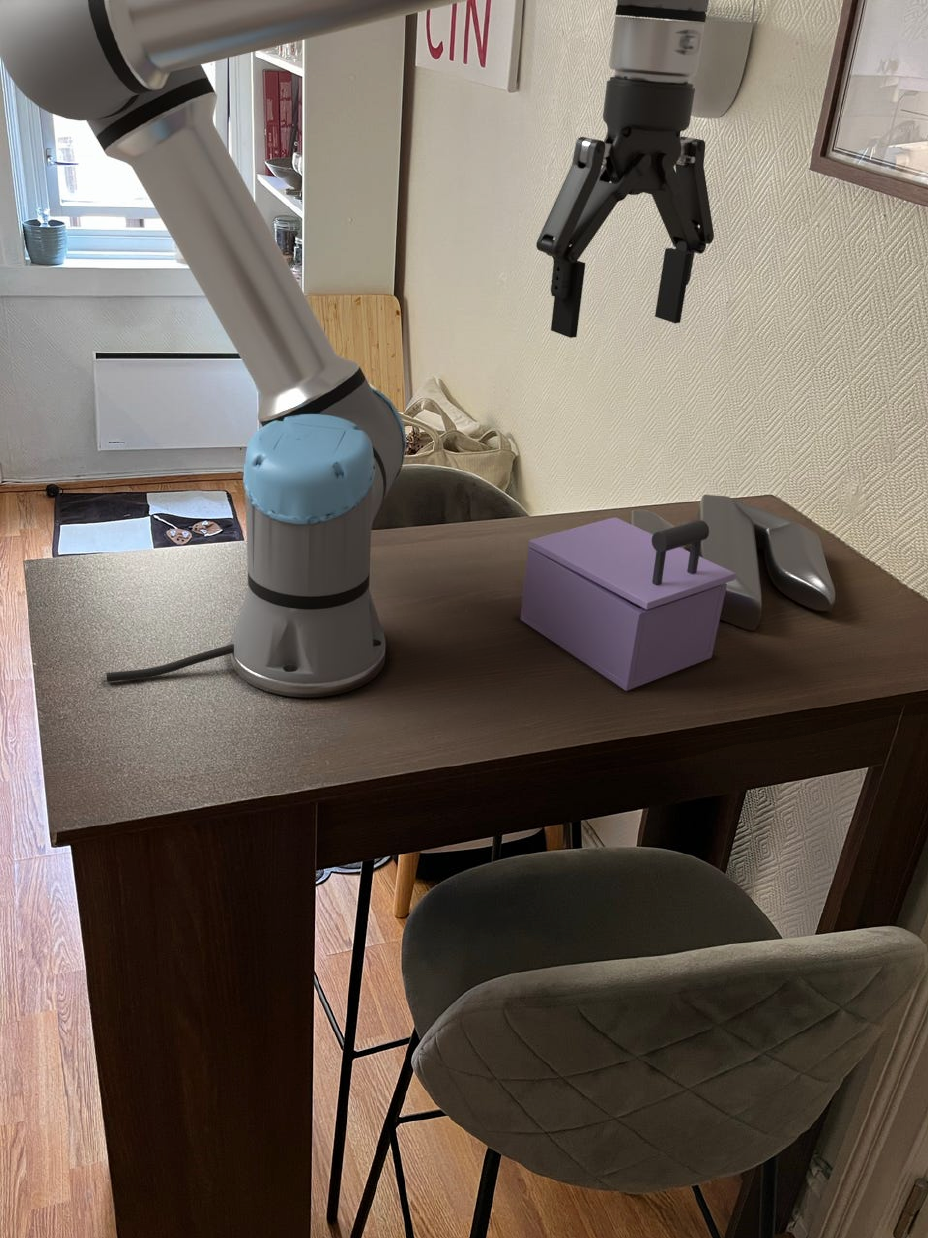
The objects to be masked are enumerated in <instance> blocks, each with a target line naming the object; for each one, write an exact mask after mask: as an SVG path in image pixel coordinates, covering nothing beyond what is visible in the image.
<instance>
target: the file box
mask: <svg viewBox="0 0 928 1238" xmlns="http://www.w3.org/2000/svg"><path fill="white" fill-rule="evenodd" d="M726 587H727V584H726V583H724V584H721V585H718V586H716V587H713V588H710V589H707V590H704V591H701V592H698V593H695V594H692V595H689V596H686V597H683V598H680V599H677V600H674V601H671V602H668V603H665V604H662V605H659V606H657V607H654V608H651V609H648V610H646V609H644V608H641V609H639V608H637V607H636V606H634V605H632V604H631V603H629V602H627V601H626V600H624V599H622V598H621V597H619V596H617V595H616V594H614V593H612V592H611V590H609V589H607V588H605V587H603V586H601V585H599V584H598V583H596V582H594V581H592V580H590V579H588V578H586V577H584V576H583V575H581V574H579V573H577V572H575V571H573V570H571V569H570V568H568V567H566V566H564V565H562V564H560V563H558V562H556V561H555V560H553V559H551V558H549V557H547V556H545V555H543V554H542V553H540V552H538V551H536V550H534V549H532V548H530V547H529V546H528V548H527V556H526V565H525V573H524V583H523V592H522V599H521V600H522V601H521V610H520V621H522V622H523V623H525V624H526V625H527V626H528V627H530V628H532V629H533V630H535V631H537V633H539V634H541V635H542V636H544V637H545V638H546V639H548V640H549V641H551V642H553V643H554V644H556V645H557V646H559V647H560V648H561V649H563V650H565V651H566V652H568V653H569V654H570V655H572V656H573V657H575V658H576V659H578V660H579V661H580V662H582V663H584V664H586V665H587V666H588V667H590V668H591V669H592V670H594V671H596V672H597V673H598V674H600V675H602V676H603V677H604V678H606V679H607V680H609V681H610V682H611V683H614V684H615V685H617V686H618V687H619V688H621V689H623V690H624V691H626V692H627V691H630V690H632V689H636V688H638V687H641V686H643V685H646V684H649V683H650V682H653V681H656V680H658V679H661V678H663V677H666V676H669V675H671V674H674V673H676V672H680V671H681V670H685V669H686V668H689V667H692V666H694V665H697V664H699V663H702V662H705V661H707V660H709V659H712V657H713V653H714V652H713V651H714V647H715V643H716V638H717V634H718V628H719V623H720V615H721V610H722V606H723V601H724V596H725V591H726Z"/></svg>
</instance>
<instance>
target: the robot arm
mask: <svg viewBox="0 0 928 1238" xmlns="http://www.w3.org/2000/svg"><path fill="white" fill-rule="evenodd" d="M466 1H468V0H1V2H0V59H1V61H2V64H3V66H4V67H5V69H6V72H7V74H8V75H9V77H10V79H11V80H12V82H13V83H14V85H15V86H16V87H17V88H18V89H19V91H21V93H22V94H23V95H24V96H25V97H26V98H28V99H29V100H30V101H31V103H34V104H35V106H37V107H38V108H40V109H42V110H44V111H45V112H47V113H49V114H51V115H55V116H58V117H60V118H64V119H66V120H74V121H81V122H82V121H86V123H87V125H88V126H89V128H90V130H91V132H92V133H93V135H94V137H95V138H96V140H97V142H98V143H99V145H100V147H101V149H102V150H103V152H104V154H105V155H106V156H107V157H109V158H112V159H115V160H117V161H120V162H123V163H125V164H127V165H129V167H131V168H132V170H133V171H134V173H135V175H136V177H137V179H138V181H139V182H140V184H141V186H142V187H143V189H144V191H145V193H146V194H147V196H148V198H149V200H150V202H151V203H152V205H153V207H154V208H155V210H156V212H157V213H158V215H159V217H160V219H161V221H162V223H163V224H164V226H165V227H166V230H167V231H168V233H169V234H170V236H171V238H172V240H173V242H174V243H175V245H176V247H177V248H178V250H179V252H180V254H181V256H182V257H183V259H184V261H185V263H186V264H187V266H188V268H189V269H190V272H191V273H192V275H193V277H194V279H195V281H196V282H197V284H198V286H199V288H200V289H201V291H202V292H203V294H204V296H205V298H206V299H207V301H208V304H209V305H210V306H211V308H212V310H213V312H214V313H215V315H216V317H217V319H218V320H219V323H220V324H221V326H222V328H223V330H224V331H225V333H226V335H227V337H228V338H229V340H230V341H231V343H232V345H233V347H234V348H235V350H236V352H237V354H238V356H239V357H240V359H241V361H242V362H243V363H242V364H244V366H245V368H246V370H247V371H248V373H249V375H250V376H251V379H252V381H253V382H254V384H255V385H256V387H257V389H258V391H259V392H260V397H261V400H260V404H259V408H258V413H257V420H258V421H259V423H260V424H261V426H262V427H261V428H259V429H258V430H257V431H256V432H254V434H253V435H252V437H251V438H250V440H249V442H248V444H247V446H246V451H245V461H244V465H243V470H242V471H243V477H242V481H243V482H242V483H243V486H244V487H243V488H244V493H245V494H244V497H245V525H246V527H245V528H246V531H245V532H246V556H247V557H246V558H247V559H246V560H247V561H246V562H247V563H246V564H247V590H246V593H245V596H244V599H243V602H242V605H241V608H240V611H239V614H238V618H237V621H236V624H235V626H234V629H233V632H232V635H231V640H230V644H228V645H225V646H221V647H218V648H213V649H211V650H206V651H203V652H199V653H197V654H193V655H190V656H187V657H184V658H181V659H178V660H175V661H173V662H169V663H166V664H162V665H158V666H154V667H149V668H143V669H142V668H141V669H135V670H134V669H133V670H123V671H122V670H121V671H112V672H106V673H105V677H106V682H107V683H109V682H118V681H131V680H139V679H147V678H152V677H157V676H162V675H166V674H169V673H172V672H175V671H179V670H182V669H184V668H187V667H190V666H193V665H196V664H199V663H203V662H206V661H209V660H210V661H211V660H213V659H216V658H220V657H223V656H228V655H230V659H231V660H230V661H231V665H232V667H233V670H234V671H235V672H236V674H237V675H238V676H239V677H241V679H242V680H243V681H245V682H246V683H248V684H249V685H251V686H253V687H255V688H257V689H259V690H262V691H265V692H268V693H272V694H275V695H279V696H286V697H292V698H293V697H294V698H323V697H329V696H336V695H340V694H345V693H348V692H351V691H353V690H356V689H358V688H361V687H362V686H365V685H366V684H368V683H369V682H371V681H372V680H374V679H375V678H376V677H377V676H378V675H379V674H380V672H381V671H382V669H383V667H384V665H385V662H386V660H385V659H386V647H387V645H386V639H385V634H384V630H383V628H382V627H383V626H382V624H381V621H380V619H379V614H378V612H377V609H376V606H375V603H374V600H373V597H372V594H371V590H370V574H371V548H372V547H371V545H372V529H373V523H374V520H375V518H376V516H377V514H378V513H379V510H380V508H381V506H382V505H383V503H384V501H385V499H386V497H387V495H388V493H389V491H390V490H391V489H392V487H393V486H394V485H395V483H396V481H397V480H398V478H399V477H400V475H401V472H402V469H403V466H404V463H405V456H406V450H407V433H406V428H405V425H404V421H403V419H402V416H401V414H400V412H399V410H398V409H397V407H396V405H395V404H394V403H393V402H392V401H391V399H389V397H387V396H386V395H385V394H384V393H383V392H381V391H380V390H378V389H375V388H372V386H370V383H369V382H368V380H367V378H366V376H365V374H364V372H363V370H362V368H361V367H360V364H359V363H358V362H357V361H354V360H350V359H348V358H345V357H341V356H339V354H337V353H336V351H335V349H334V347H333V345H332V343H331V342H330V340H329V338H328V336H327V334H326V332H325V331H324V329H323V327H322V325H321V323H320V321H319V319H318V318H317V315H316V313H315V312H314V310H313V308H312V306H311V304H310V302H309V300H308V299H307V297H306V295H305V292H304V291H303V289H302V287H301V285H300V284H299V282H298V280H297V278H296V276H295V274H294V272H293V270H292V268H291V266H290V265H289V263H288V261H287V259H286V257H285V256H284V254H283V252H282V249H281V247H280V246H279V244H278V242H277V240H276V238H275V236H274V235H273V233H272V231H271V229H270V227H269V225H268V223H267V222H266V219H265V218H264V216H263V214H262V212H261V210H260V208H259V207H258V204H257V203H256V201H255V199H254V197H253V195H252V193H251V191H250V190H249V187H248V186H247V184H246V182H245V180H244V178H243V176H242V175H241V173H240V171H239V169H238V167H237V165H236V164H235V161H234V160H233V157H232V156H231V154H230V152H229V150H228V148H227V146H226V144H225V143H224V141H223V139H222V137H221V135H220V133H219V131H218V129H217V128H216V126H215V124H214V115H215V111H216V106H217V101H218V94H217V93H216V90H215V89H214V87H213V85H212V83H211V81H210V80H209V77H208V75H207V73H206V71H205V70H204V67H203V65H205V64H208V63H209V64H210V63H213V62H217V61H221V60H225V59H230V58H235V57H238V56H242V55H246V54H250V53H255V52H259V51H263V50H267V49H272V48H276V47H280V46H284V45H288V44H293V43H297V42H301V41H305V40H310V39H313V38H317V37H321V36H322V37H323V36H325V35H330V34H334V33H338V32H343V31H346V30H350V29H351V30H352V29H354V28H359V27H362V26H363V27H364V26H368V25H371V24H375V23H379V22H384V21H388V20H392V19H396V18H401V17H405V16H408V15H413V14H417V13H421V12H426V11H430V10H434V9H438V8H443V7H447V6H450V5H455V4H459V3H462V2H466ZM709 2H710V0H617V1H616V6H615V15H614V16H615V17H614V22H613V24H614V25H613V30H612V39H611V45H610V46H611V47H610V53H609V54H610V55H609V62H608V66H609V68H610V69H611V70H614V74H613V75H614V76H611V77H609V80H606V87H605V96H604V104H603V111H602V120H603V122H604V123H605V124H606V126H607V130H606V131H607V132H606V135H605V138H604V140H602V139H601V140H600V139H596V138H591V137H585V136H580V137H578V138H577V139H576V142H575V146H574V151H573V157H572V162H571V165H570V167H569V170H568V173H567V174H566V176H565V178H564V181H563V183H562V185H561V188H560V190H559V192H558V195H557V196H556V199H555V200H554V203H553V205H552V207H551V210H550V212H549V214H548V216H547V218H546V220H545V223H544V225H543V227H542V229H541V232H540V234H539V236H538V238H537V241H536V244H535V245H536V247H535V248H536V249H537V250H538V251H539V252H543V253H544V254H546V255H547V256H549V257H551V258H552V260H553V263H552V264H553V266H552V273H551V274H552V275H551V284H550V294H551V297H553V306H552V316H551V325H550V331H551V332H554V333H557V334H559V335H562V336H564V337H567V338H569V339H573V338H577V336H578V328H579V320H580V314H581V313H580V312H581V303H582V297H583V296H582V295H583V288H584V281H585V280H584V279H585V270H586V262H582V261H581V260H580V258H581V256H582V254H583V253H584V251H585V250H586V249H587V247H588V245H590V243H592V241H593V239H594V237H595V236H596V234H597V233H598V232H599V230H600V229H601V227H602V226H603V224H604V223H605V222H606V220H607V219H608V217H609V215H610V214H611V212H613V210H614V208H615V207H616V205H617V204H618V203H620V202H621V201H623V200H625V199H626V198H627V196H628V195H630V196H639V195H641V194H643V193H644V194H648V195H651V197H652V199H653V201H654V204H655V206H656V208H657V211H658V213H659V216H660V218H661V220H662V222H663V225H664V227H665V229H666V232H667V234H668V236H669V239H670V242H671V243H672V246H673V247H674V248H673V247H666V248H665V249H664V256H663V262H662V267H661V274H660V282H659V287H658V294H657V300H656V307H655V313H654V317H655V318H658V319H660V320H663V321H666V322H669V323H672V324H680V323H681V320H682V313H683V308H684V304H685V303H684V302H685V298H686V297H685V296H686V290H687V286H688V285H689V283H690V281H691V278H692V277H691V276H692V271H693V270H692V269H693V265H694V258H695V254H699V255H702V254H703V253H704V252H705V251H706V249H707V245H709V244H712V242H713V241H714V238H715V233H714V232H715V231H714V225H713V219H712V213H711V206H710V205H711V204H710V198H709V192H708V186H707V179H706V173H705V156H706V155H705V154H706V141H705V140H704V139H701V138H700V139H699V138H694V137H688V136H682V135H681V132H683V131H684V132H685V131H686V130H687V129H688V128H689V127H690V125H691V118H692V112H693V105H694V99H695V93H696V88H695V87H694V84H693V83H691V82H690V83H689V80H690V77H695V76H696V75H697V74H698V69H699V62H700V57H701V50H702V44H703V43H702V42H703V37H704V30H705V23H706V19H707V12H708V8H709Z"/></svg>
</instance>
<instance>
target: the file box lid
mask: <svg viewBox="0 0 928 1238" xmlns="http://www.w3.org/2000/svg"><path fill="white" fill-rule="evenodd" d="M708 535H709V527H708V525H707V524H706V523H705V522H704V521H702V520H698V521H697V520H695V521H691V522H687V523H683V524H680V525H677V526H675V527H673V528H670V529H666V530H663V531H659V532H656V533H654V535H653V534H650V533H648V532H646V531H644V530H642V529H640V528H638V527H635V526H633V525H631V524H630V522H627V521H625V520H623V519H621V518H618V517H616V516H614V517H610V518H606V519H602V520H598V521H596V522H591V523H588V524H584V525H579V526H577V527H573V528H570V529H565V530H561V531H558V532H554V533H551V534H547V535H543V536H540V537H539V536H538V537H535V538H532V539H529V540H528V547H530V548H532V549H534V550H536V551H538V552H540V553H542V554H543V555H545V556H547V557H549V558H551V559H553V560H555V561H556V562H558V563H560V564H562V565H564V566H566V567H568V568H570V569H571V570H573V571H575V572H577V573H579V574H581V575H583V576H584V577H586V578H588V579H590V580H592V581H594V582H596V583H598V584H599V585H601V586H603V587H605V588H607V589H609V590H611V591H613V592H614V593H616V594H618V595H620V596H622V597H624V598H626V599H627V600H629V601H631V602H633V603H635V604H637V605H639V606H641V607H642V608H644V609H646V610H648V609H651V608H654V607H657V606H659V605H662V604H665V603H668V602H671V601H674V600H677V599H680V598H683V597H686V596H689V595H692V594H695V593H698V592H701V591H704V590H707V589H710V588H713V587H716V586H718V585H721V584H724V583H727V582H730V581H733V580H735V575H736V573H734V572H732V571H730V570H727V569H725V568H723V567H721V566H719V565H717V564H715V563H712V562H710V561H708V560H706V559H704V558H702V557H700V556H699V553H700V547H701V541H702V540H705V539H706V538H707V537H708ZM688 545H690V550H689V551H688V550H687V549H686V548H685V549H683V548H680V547H682V546H685V547H686V546H688Z"/></svg>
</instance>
